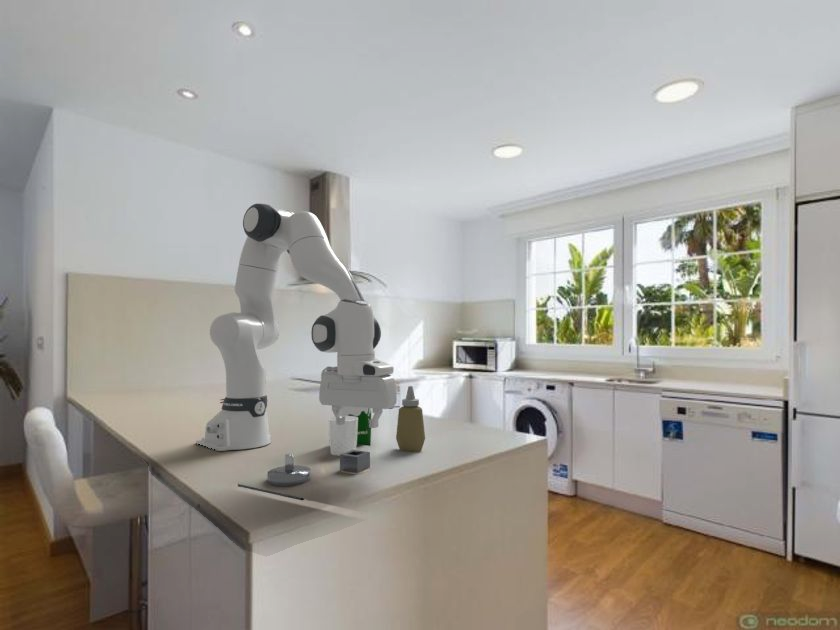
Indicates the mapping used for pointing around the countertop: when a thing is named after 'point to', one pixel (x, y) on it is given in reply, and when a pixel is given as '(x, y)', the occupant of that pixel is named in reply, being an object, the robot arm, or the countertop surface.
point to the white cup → (343, 435)
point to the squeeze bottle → (410, 424)
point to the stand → (355, 473)
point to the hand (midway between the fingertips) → (356, 425)
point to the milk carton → (360, 423)
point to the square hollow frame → (354, 461)
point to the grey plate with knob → (286, 476)
